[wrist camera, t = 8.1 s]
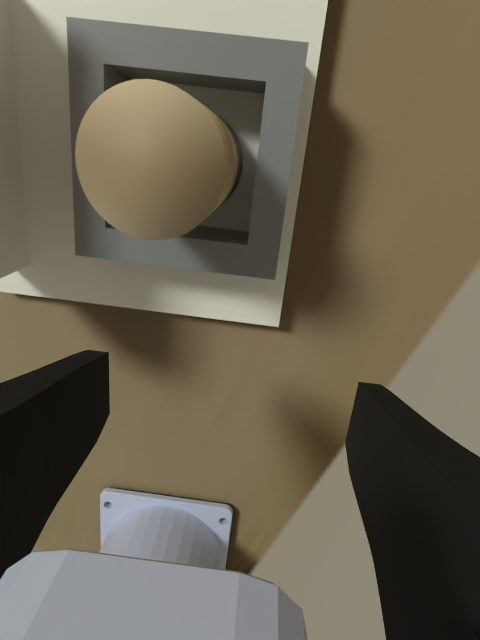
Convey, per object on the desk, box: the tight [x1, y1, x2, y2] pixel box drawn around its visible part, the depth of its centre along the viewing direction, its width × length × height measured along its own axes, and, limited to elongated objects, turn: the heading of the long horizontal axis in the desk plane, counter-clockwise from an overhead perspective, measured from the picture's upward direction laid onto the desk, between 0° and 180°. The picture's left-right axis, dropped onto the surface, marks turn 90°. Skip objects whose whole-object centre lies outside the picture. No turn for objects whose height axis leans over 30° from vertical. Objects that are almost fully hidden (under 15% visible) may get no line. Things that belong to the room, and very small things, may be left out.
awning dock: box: [0, 0, 328, 327], centre depth 15 cm, size 14×14×8 cm
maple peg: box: [75, 79, 243, 240], centre depth 14 cm, size 4×4×7 cm
